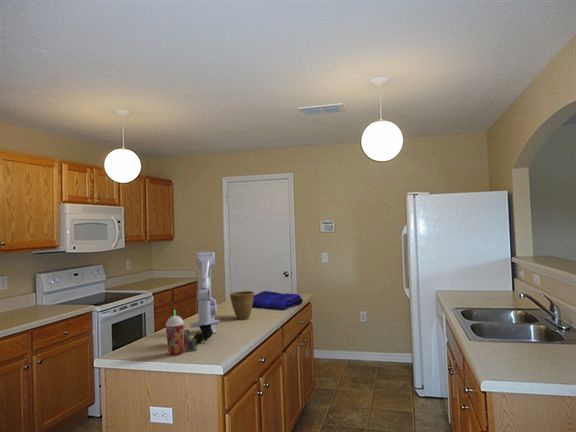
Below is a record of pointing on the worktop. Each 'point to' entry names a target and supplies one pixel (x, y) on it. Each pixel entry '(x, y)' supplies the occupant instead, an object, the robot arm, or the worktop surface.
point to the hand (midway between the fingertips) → (205, 340)
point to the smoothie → (175, 335)
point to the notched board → (189, 341)
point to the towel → (276, 300)
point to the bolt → (201, 336)
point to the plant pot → (242, 304)
